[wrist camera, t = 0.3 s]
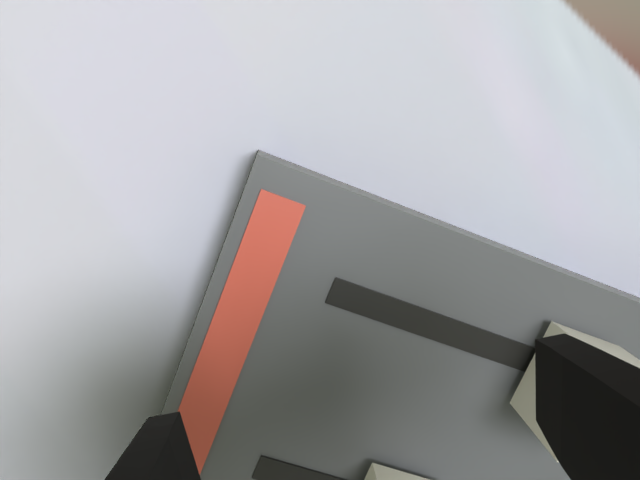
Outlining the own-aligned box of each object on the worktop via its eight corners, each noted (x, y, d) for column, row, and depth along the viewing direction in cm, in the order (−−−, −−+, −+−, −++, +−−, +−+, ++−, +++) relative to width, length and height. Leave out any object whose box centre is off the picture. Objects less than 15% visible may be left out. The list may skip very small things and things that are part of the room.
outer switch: (576, 424, 21) (635, 486, 18) (509, 402, 21) (557, 461, 17) (619, 346, 20) (689, 394, 17) (551, 321, 20) (609, 365, 16)
